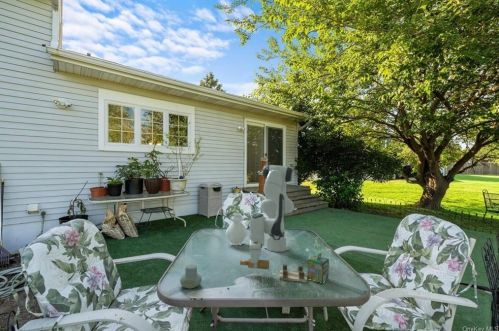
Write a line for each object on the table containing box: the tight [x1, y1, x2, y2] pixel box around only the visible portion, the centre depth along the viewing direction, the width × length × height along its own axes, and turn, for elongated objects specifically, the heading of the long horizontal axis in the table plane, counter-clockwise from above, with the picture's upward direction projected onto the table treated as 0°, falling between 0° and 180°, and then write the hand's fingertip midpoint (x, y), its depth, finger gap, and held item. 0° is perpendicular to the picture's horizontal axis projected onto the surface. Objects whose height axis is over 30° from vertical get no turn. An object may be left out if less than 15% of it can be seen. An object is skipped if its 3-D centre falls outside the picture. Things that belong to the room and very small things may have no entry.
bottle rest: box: [279, 263, 308, 283], centre depth 143 cm, size 11×15×5 cm
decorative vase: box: [225, 212, 249, 246], centre depth 205 cm, size 18×18×25 cm
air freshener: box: [179, 264, 203, 290], centre depth 129 cm, size 11×8×10 cm
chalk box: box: [307, 252, 330, 284], centre depth 141 cm, size 9×9×15 cm
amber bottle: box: [239, 258, 270, 270], centre depth 146 cm, size 5×17×5 cm
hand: (256, 265), depth 146 cm, fingers closed on amber bottle, 5 cm apart
